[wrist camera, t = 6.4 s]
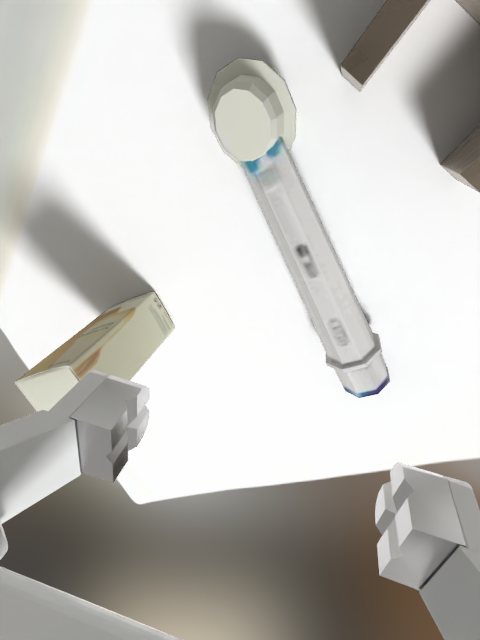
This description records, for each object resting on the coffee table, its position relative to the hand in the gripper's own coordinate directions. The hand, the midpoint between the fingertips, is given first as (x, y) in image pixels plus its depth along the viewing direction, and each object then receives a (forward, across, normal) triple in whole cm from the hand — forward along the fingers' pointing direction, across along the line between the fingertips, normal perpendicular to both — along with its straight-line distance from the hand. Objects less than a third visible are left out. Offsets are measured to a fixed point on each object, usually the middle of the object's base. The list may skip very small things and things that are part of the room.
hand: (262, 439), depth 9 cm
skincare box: (+22, +14, +13) cm, 29 cm away
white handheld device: (+22, 0, +2) cm, 22 cm away
